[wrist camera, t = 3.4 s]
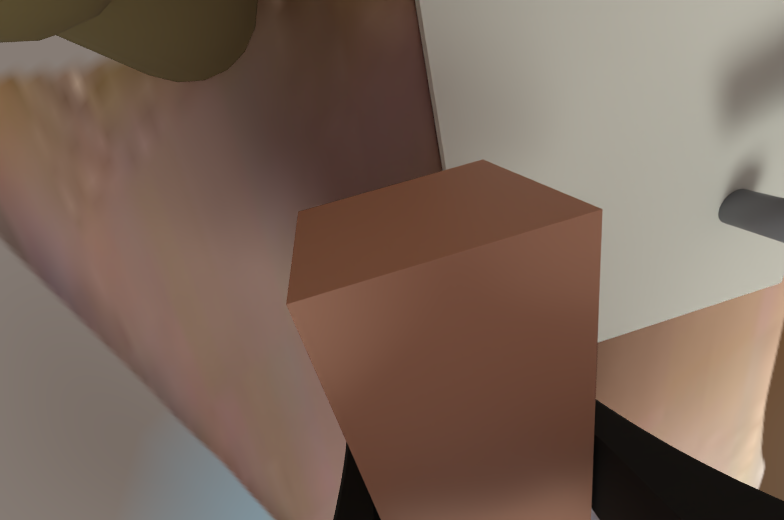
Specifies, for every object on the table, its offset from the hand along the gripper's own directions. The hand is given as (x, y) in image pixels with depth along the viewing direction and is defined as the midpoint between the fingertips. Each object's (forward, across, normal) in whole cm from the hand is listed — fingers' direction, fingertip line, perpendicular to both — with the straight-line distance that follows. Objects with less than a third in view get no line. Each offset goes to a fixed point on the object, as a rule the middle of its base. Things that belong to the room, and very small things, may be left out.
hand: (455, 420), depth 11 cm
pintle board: (+9, -14, -3) cm, 17 cm away
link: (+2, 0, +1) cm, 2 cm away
